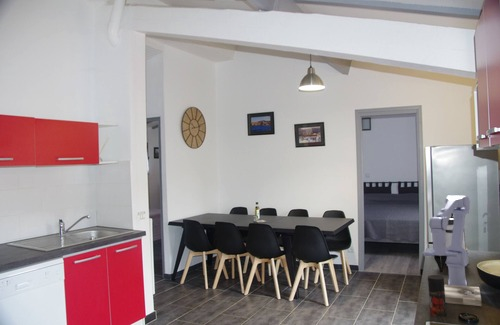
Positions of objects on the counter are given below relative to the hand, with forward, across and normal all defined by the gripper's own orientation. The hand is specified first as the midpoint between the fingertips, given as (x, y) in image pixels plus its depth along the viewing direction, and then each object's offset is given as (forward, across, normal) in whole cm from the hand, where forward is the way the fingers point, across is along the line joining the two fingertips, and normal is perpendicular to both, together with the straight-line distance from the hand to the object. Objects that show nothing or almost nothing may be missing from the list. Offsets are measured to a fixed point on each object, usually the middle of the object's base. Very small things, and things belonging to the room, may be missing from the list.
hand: (441, 271), depth 185 cm
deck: (+10, +6, -4) cm, 13 cm away
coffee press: (+10, +4, +53) cm, 54 cm away
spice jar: (+10, -1, -27) cm, 29 cm away
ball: (+8, +10, -5) cm, 14 cm away
